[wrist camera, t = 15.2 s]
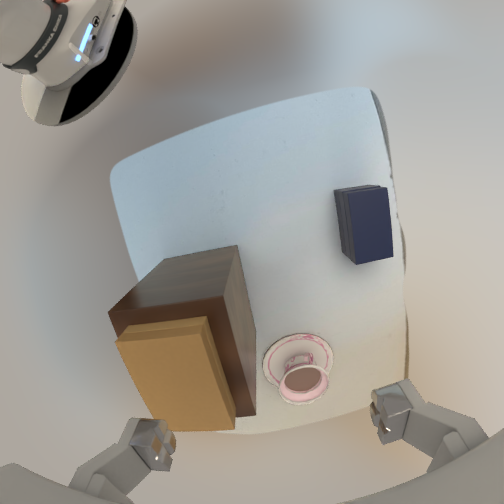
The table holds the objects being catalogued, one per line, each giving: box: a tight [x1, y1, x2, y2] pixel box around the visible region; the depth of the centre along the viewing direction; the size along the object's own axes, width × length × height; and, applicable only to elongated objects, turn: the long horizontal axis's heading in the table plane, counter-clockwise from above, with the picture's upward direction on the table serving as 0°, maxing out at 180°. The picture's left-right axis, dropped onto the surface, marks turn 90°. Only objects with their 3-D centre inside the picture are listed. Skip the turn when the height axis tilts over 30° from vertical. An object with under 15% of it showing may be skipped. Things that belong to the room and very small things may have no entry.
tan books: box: [115, 316, 236, 431], centre depth 23 cm, size 11×8×3 cm
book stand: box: [108, 245, 256, 418], centre depth 33 cm, size 14×11×18 cm
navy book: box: [343, 187, 393, 265], centre depth 33 cm, size 9×6×2 cm, turn 11°
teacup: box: [263, 334, 334, 405], centre depth 41 cm, size 12×12×6 cm
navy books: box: [334, 185, 380, 259], centre depth 36 cm, size 9×6×4 cm, turn 11°
